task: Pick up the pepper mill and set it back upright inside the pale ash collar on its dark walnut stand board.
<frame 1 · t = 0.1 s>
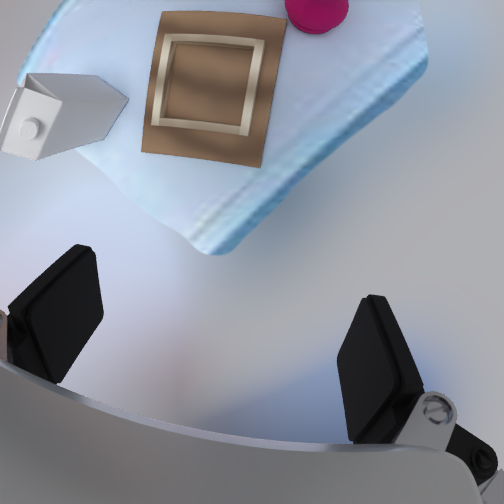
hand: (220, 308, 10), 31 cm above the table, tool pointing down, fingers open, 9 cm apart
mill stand: (210, 83, 34), on the table
milk carton: (100, 107, 36), on the table
pepper mill: (312, 14, 29), on the table
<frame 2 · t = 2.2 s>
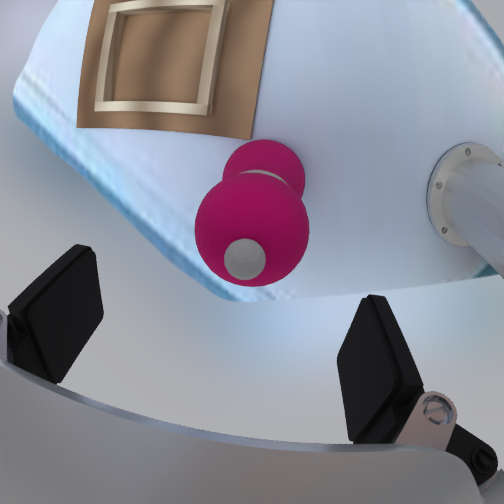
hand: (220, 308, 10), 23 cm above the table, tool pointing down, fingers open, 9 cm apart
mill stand: (165, 56, 25), on the table
pepper mill: (266, 170, 30), on the table
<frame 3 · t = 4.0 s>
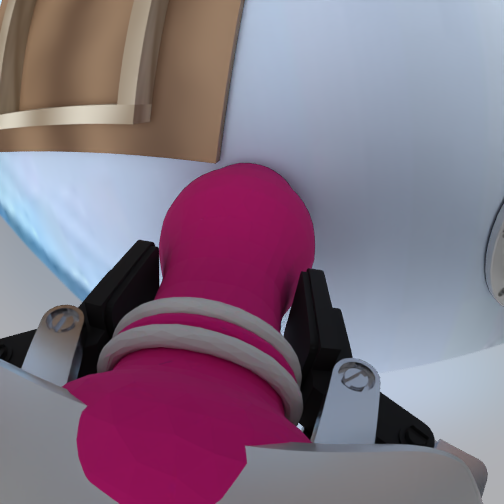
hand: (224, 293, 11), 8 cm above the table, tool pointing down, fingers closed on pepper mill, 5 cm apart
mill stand: (87, 34, 13), on the table
pepper mill: (246, 212, 18), on the table, touching gripper
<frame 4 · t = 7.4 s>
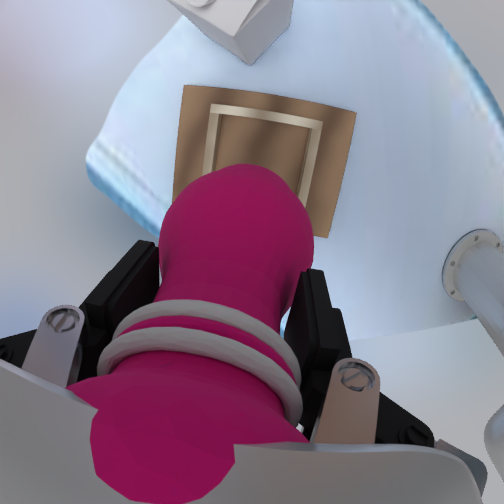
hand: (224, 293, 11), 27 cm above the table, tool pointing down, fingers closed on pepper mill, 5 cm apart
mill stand: (259, 159, 35), on the table
milk carton: (246, 29, 28), on the table
pepper mill: (245, 213, 18), point 19 cm above the table, touching gripper
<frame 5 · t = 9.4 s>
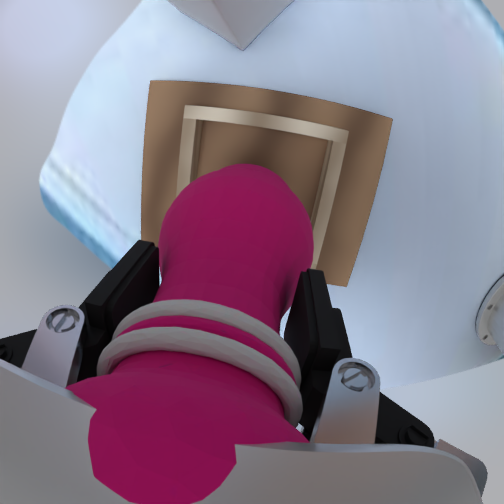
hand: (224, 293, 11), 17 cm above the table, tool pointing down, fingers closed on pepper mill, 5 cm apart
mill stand: (257, 182, 26), on the table
milk carton: (238, 2, 19), on the table
pepper mill: (245, 212, 18), point 8 cm above the table, touching gripper
when the fingers open (11 cm above the table, at t = 11.0 s): pepper mill drops 1 cm, resting on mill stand.
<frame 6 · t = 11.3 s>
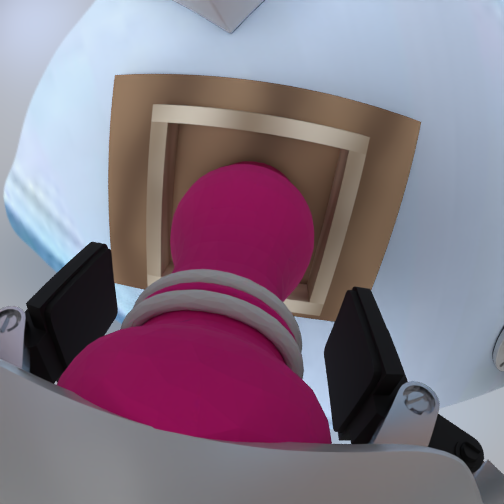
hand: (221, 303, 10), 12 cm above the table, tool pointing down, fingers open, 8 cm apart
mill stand: (249, 201, 20), on the table
pepper mill: (250, 207, 20), point 1 cm above the table, touching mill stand
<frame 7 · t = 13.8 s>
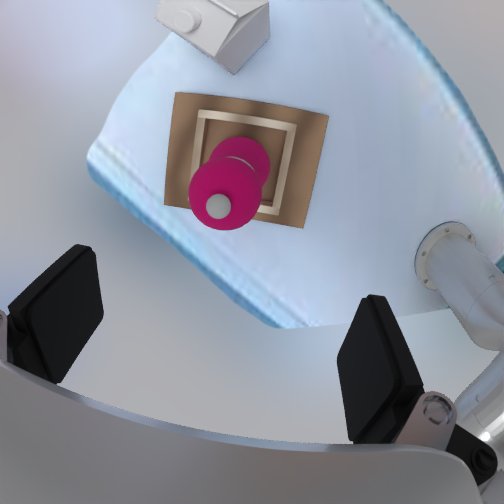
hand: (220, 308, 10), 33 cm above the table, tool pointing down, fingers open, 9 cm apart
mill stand: (242, 158, 39), on the table
milk carton: (231, 41, 32), on the table
pepper mill: (242, 160, 39), point 1 cm above the table, touching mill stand
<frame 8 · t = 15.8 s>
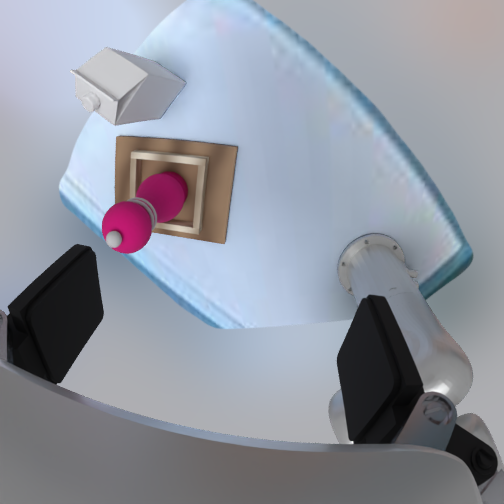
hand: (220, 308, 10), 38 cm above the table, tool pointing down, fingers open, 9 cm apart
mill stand: (171, 187, 48), on the table
milk carton: (157, 89, 41), on the table
pepper mill: (170, 189, 47), point 1 cm above the table, touching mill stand
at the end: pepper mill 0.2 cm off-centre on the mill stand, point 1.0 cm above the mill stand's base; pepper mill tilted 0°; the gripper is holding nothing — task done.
